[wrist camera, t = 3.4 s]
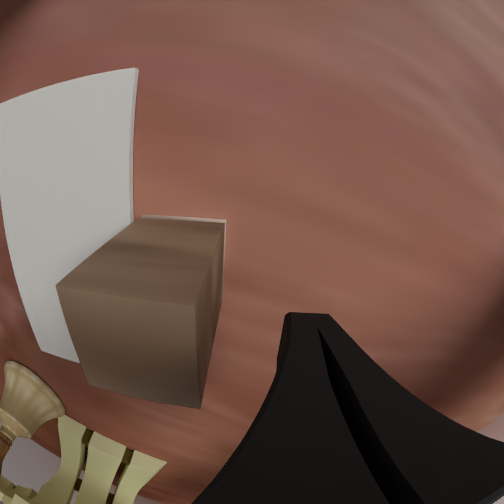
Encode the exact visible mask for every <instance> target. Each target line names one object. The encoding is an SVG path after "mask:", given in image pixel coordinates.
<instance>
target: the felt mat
mask: <svg viewBox="0 0 504 504" xmlns="http://www.w3.org/2000/svg"><path fill="white" fill-rule="evenodd" d="M138 73H139V69H137V68H129V69H122V70H116V71H110V72H104V73H99V74H94V75H90V76H85V77H81V78H77V79H73V80H69V81H65V82H61V83H58V84H54V85H51V86H47V87H44V88H41V89H38V90H35V91H32V92H29V93H26V94H23V95H21V96H18V97H15V98H13V99H10V100H8V101H5V102H3V103H1V104H0V196H1V205H2V213H3V220H4V227H5V232H6V238H7V243H8V248H9V253H10V257H11V262H12V266H13V270H14V274H15V277H16V281H17V285H18V288H19V292H20V295H21V298H22V301H23V304H24V307H25V310H26V313H27V316H28V319H29V322H30V324H31V327H32V329H33V332H34V335H35V337H36V340H37V342H38V344H39V347H40V349H41V351H44V352H47V353H50V354H52V355H55V356H58V357H61V358H64V359H67V360H71V361H74V362H77V363H80V361H79V359H78V356H77V353H76V351H75V348H74V345H73V342H72V340H71V337H70V334H69V331H68V328H67V325H66V322H65V318H64V315H63V312H62V308H61V305H60V301H59V297H58V294H57V290H56V286H55V285H56V284H57V283H58V282H59V281H61V280H62V279H63V278H64V277H65V276H66V275H67V274H69V273H70V272H71V271H72V270H73V269H74V268H76V267H77V266H78V265H79V264H80V263H82V262H83V261H84V260H85V259H86V258H88V257H89V256H90V255H91V254H92V253H94V252H95V251H96V250H97V249H99V248H100V247H101V246H102V245H104V244H105V243H106V242H108V241H109V240H110V239H111V238H113V237H114V236H115V235H117V234H118V233H119V232H121V231H122V230H123V229H125V228H126V227H127V226H129V225H130V224H131V223H133V222H134V214H133V135H134V117H135V103H136V92H137V82H138Z"/></svg>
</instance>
